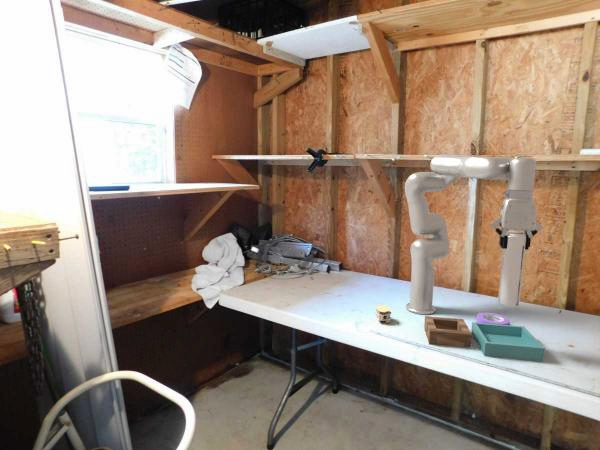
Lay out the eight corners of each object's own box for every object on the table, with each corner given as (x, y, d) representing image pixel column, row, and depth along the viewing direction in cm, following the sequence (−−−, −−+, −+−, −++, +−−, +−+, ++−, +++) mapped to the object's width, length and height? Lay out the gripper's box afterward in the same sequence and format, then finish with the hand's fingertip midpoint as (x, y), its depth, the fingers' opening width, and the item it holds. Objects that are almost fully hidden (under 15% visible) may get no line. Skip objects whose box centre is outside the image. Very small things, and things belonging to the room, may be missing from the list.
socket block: (424, 328, 152) (424, 316, 151) (462, 331, 150) (463, 319, 149) (429, 344, 138) (430, 330, 138) (471, 348, 136) (472, 334, 135)
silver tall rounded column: (512, 300, 139) (519, 230, 135) (523, 307, 132) (531, 234, 128) (494, 300, 138) (501, 230, 135) (504, 306, 132) (511, 234, 128)
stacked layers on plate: (367, 317, 163) (367, 305, 162) (386, 316, 165) (387, 303, 164) (377, 327, 153) (378, 314, 152) (398, 325, 155) (399, 312, 155)
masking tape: (507, 324, 158) (508, 315, 158) (510, 335, 147) (511, 325, 147) (476, 319, 163) (476, 310, 162) (476, 329, 152) (477, 320, 151)
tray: (471, 333, 148) (472, 322, 147) (522, 337, 145) (523, 326, 144) (484, 355, 131) (485, 343, 130) (543, 361, 127) (544, 348, 127)
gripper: (494, 195, 128) (489, 249, 130) (553, 197, 125) (546, 252, 127) (488, 194, 135) (483, 244, 138) (543, 195, 132) (537, 247, 135)
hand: (514, 247), depth 132 cm, fingers closed on silver tall rounded column, 6 cm apart
